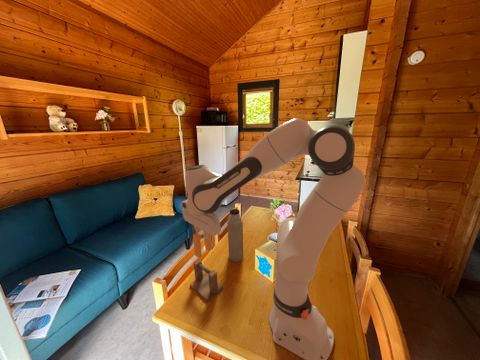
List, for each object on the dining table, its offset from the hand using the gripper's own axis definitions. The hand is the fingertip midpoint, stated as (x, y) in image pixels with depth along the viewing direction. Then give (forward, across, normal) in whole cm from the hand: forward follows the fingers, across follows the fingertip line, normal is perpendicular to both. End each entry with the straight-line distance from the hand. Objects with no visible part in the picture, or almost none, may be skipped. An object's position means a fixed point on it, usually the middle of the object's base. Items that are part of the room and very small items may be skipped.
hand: (202, 236), depth 83 cm
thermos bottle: (+27, +4, -24) cm, 36 cm away
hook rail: (+27, 0, 0) cm, 27 cm away
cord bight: (+8, 0, 0) cm, 8 cm away
